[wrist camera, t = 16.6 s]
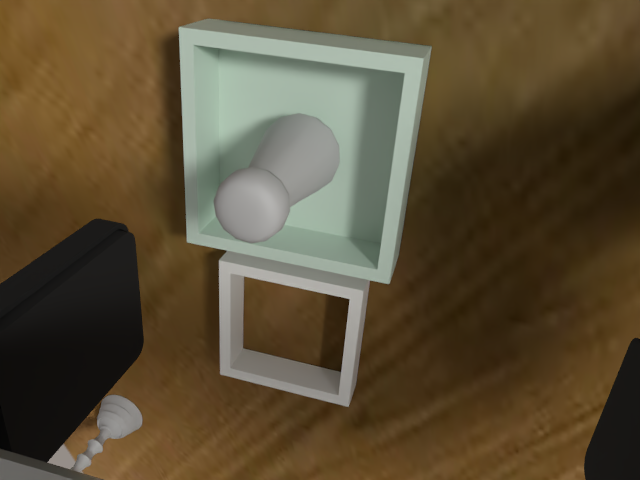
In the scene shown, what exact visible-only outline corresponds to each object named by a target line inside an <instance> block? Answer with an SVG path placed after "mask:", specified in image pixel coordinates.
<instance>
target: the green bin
mask: <svg viewBox="0 0 640 480" xmlns="http://www.w3.org/2000/svg"><path fill="white" fill-rule="evenodd" d="M179 46H180V72H181V98H182V124H183V150H184V176H185V202H186V229H187V242H188V243H193V244H198V245H203V246H207V247H212V248H217V249H222V250H227V251H232V252H236V253H241V254H246V255H251V256H256V257H260V258H265V259H270V260H275V261H280V262H284V263H289V264H294V265H299V266H304V267H308V268H313V269H318V270H323V271H328V272H332V273H337V274H342V275H347V276H352V277H357V278H361V279H366V280H371V281H376V282H381V283H385V284H390V281H391V278H392V275H393V272H394V269H395V266H396V263H397V259H398V256H399V251H400V245H401V239H402V232H403V226H404V220H405V213H406V207H407V200H408V194H409V188H410V181H411V175H412V169H413V162H414V156H415V150H416V143H417V137H418V131H419V124H420V118H421V112H422V105H423V99H424V93H425V86H426V80H427V74H428V67H429V61H430V54H431V48H432V46H426V45H418V44H410V43H402V42H394V41H386V40H378V39H369V38H361V37H353V36H345V35H337V34H329V33H321V32H313V31H305V30H297V29H289V28H281V27H272V26H264V25H256V24H248V23H240V22H232V21H224V20H216V19H205V20H202V21H198V22H195V23H191V24H188V25H184V26H181V27H179ZM297 113H301V114H305V115H309V116H313V117H317V118H318V119H320V120H321V121H322V122H323V123H324V124H325V125H327V126H328V127H329V128H330V129H331V130H332V132H333V134H334V136H335V138H336V140H337V142H338V144H339V154H340V163H339V166H338V168H337V171H336V173H335V175H334V177H333V180H332V181H331V182H330V183H328V184H327V185H326V186H324V187H323V188H321V189H320V190H319V191H317V192H315V193H313V194H312V195H310V196H308V197H306V198H305V199H303V200H301V201H299V202H298V203H296V204H295V205H293V206H291V207H290V213H289V215H288V218H287V220H286V222H285V225H284V226H283V228H282V230H280V231H279V232H278V233H276V234H275V235H273V236H272V237H271V238H269V239H268V240H266V241H264V242H257V243H248V242H245V241H241V240H238V239H236V238H234V237H233V236H232V235H230V234H229V233H228V232H226V231H225V230H224V229H223V227H222V226H221V224H220V222H219V221H218V219H217V217H216V215H215V208H214V202H213V201H214V198H215V195H216V193H217V190H218V187H219V186H220V184H221V182H223V181H224V180H225V179H226V178H227V177H228V176H229V175H231V174H232V173H233V172H234V171H236V170H238V169H244V168H248V167H249V165H250V163H251V161H252V159H253V156H254V154H255V152H256V150H257V148H258V146H259V144H260V142H261V140H262V138H263V136H264V134H265V132H266V130H267V128H268V127H270V126H271V125H272V124H273V123H274V122H275V121H276V120H277V119H279V118H280V117H283V116H288V115H292V114H297Z"/></svg>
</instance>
